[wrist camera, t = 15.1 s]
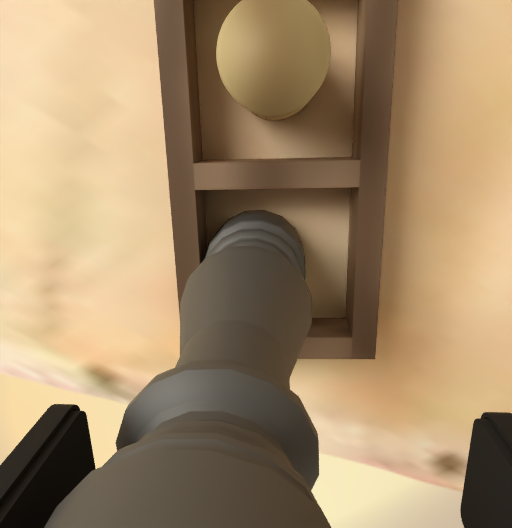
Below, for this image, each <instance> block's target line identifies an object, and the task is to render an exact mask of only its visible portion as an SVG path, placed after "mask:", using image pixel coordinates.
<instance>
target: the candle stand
mask: <svg viewBox="0 0 512 528" xmlns="http://www.w3.org/2000/svg"><path fill="white" fill-rule="evenodd" d="M154 8H155V20H156V32H157V44H158V57H159V69H160V81H161V93H162V105H163V118H164V130H165V142H166V154H167V166H168V178H169V191H170V203H171V215H172V227H173V239H174V252H175V264H176V276H177V288H178V300H179V313H180V302H181V298H182V295H183V292H184V289H185V286H186V283H187V280H188V278H189V276H190V275H191V274H192V273H193V272H194V271H195V269H196V268H197V267H198V266H199V265H200V264H201V263H202V262H203V261H204V259H205V257H206V254H207V251H208V245H207V228H206V210H205V193H204V190H224V189H283V188H342V187H351V194H350V219H349V244H348V269H347V293H346V318H312V324H311V326H310V329H309V331H308V334H307V336H306V338H305V341H304V343H303V346H302V348H301V351H300V353H299V356H298V358H297V359H375V352H376V337H377V321H378V306H379V290H380V274H381V259H382V243H383V227H384V212H385V196H386V180H387V165H388V149H389V133H390V118H391V102H392V87H393V71H394V55H395V40H396V24H397V8H398V0H358V20H357V45H356V69H355V94H354V119H353V144H352V157H335V158H287V159H240V160H203V159H202V142H201V125H200V108H199V91H198V74H197V57H196V40H195V22H194V5H193V0H154ZM330 55H331V46H330V38H329V34H328V30H327V27H326V25H325V22H324V20H323V18H322V17H321V15H320V13H319V12H318V11H317V10H316V8H315V7H314V6H313V5H312V4H311V3H310V2H309V1H307V0H242V1H240V2H239V3H238V4H237V5H236V6H235V7H234V8H233V9H232V10H231V11H230V13H229V14H228V16H227V17H226V19H225V21H224V23H223V24H222V27H221V30H220V32H219V36H218V40H217V47H216V59H217V66H218V71H219V74H220V77H221V80H222V82H223V84H224V86H225V87H226V89H227V90H228V92H229V93H230V94H231V96H232V97H233V98H234V99H235V100H236V101H237V102H238V103H240V104H241V105H242V106H244V107H245V108H247V109H248V110H250V111H251V112H252V113H254V114H255V115H257V116H259V117H261V118H264V119H268V120H282V119H286V118H289V117H291V116H293V115H295V114H297V113H298V112H299V111H301V110H302V109H303V108H304V107H305V105H306V104H307V103H308V102H309V101H310V100H311V98H312V97H313V96H314V95H315V94H316V92H317V91H318V90H319V88H320V87H321V85H322V83H323V81H324V79H325V77H326V74H327V71H328V68H329V63H330Z"/></svg>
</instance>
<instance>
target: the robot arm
mask: <svg viewBox="0 0 512 528" xmlns="http://www.w3.org/2000/svg"><path fill="white" fill-rule="evenodd" d="M92 470H95V463H94V458H93V451H92V445H91V439H90V434H89V428H88V422H87V416H86V413H85V412H84V411H80V408H79V407H78V406H77V405H68V404H67V405H66V404H54V405H52V406H50V407H49V408H48V409H47V411H46V412H45V413H44V414H43V415H42V417H41V418H40V419H39V420H38V421H37V422H36V424H35V425H34V426H33V427H32V428H31V430H30V431H29V432H28V433H27V434H26V436H25V437H24V438H23V439H22V440H21V442H20V443H19V444H18V445H17V446H16V447H15V449H14V450H13V451H12V452H11V454H10V455H9V456H8V457H7V458H6V459H5V461H4V462H3V463H2V464H1V465H0V528H44V527H45V525H46V523H47V522H48V520H49V518H50V517H51V515H52V513H53V512H54V510H55V508H56V507H57V506H58V505H59V504H60V503H61V502H62V501H63V500H64V498H65V497H66V496H67V495H68V494H69V493H70V492H71V491H72V490H73V489H74V488H75V487H76V486H77V485H78V484H79V483H80V482H81V481H82V480H83V479H84V478H85V477H86V476H87V475H88V474H89V473H90V472H91V471H92ZM461 518H462V522H463V525H464V528H512V414H511V413H498V412H485V413H483V414H482V416H481V419H475V421H474V424H473V430H472V437H471V443H470V450H469V456H468V463H467V469H466V476H465V482H464V489H463V496H462V502H461Z"/></svg>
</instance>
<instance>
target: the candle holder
mask: <svg viewBox="0 0 512 528" xmlns="http://www.w3.org/2000/svg"><path fill="white" fill-rule="evenodd" d="M304 280H305V256H304V251H303V245H302V243H301V241H300V239H299V236H298V234H297V232H296V230H295V228H294V227H293V226H292V225H290V224H289V223H288V222H287V221H286V220H285V219H284V218H283V217H282V216H279V215H276V214H273V213H271V212H268V211H265V210H256V211H244V212H242V213H240V214H238V215H236V216H234V217H232V218H230V219H228V221H227V222H226V223H225V224H224V225H223V226H222V227H221V228H220V230H219V231H218V232H217V233H216V235H215V236H214V238H213V240H212V241H211V243H210V244H209V248H208V251H207V254H206V257H205V259H204V261H203V262H202V263H201V264H200V265H199V266H198V267H197V268H196V269H195V271H194V272H193V273H192V274H191V275H190V276H189V278H188V280H187V283H186V286H185V289H184V292H183V295H182V298H181V302H180V358H179V360H178V362H177V365H176V367H175V368H173V369H171V370H168V371H166V372H163V373H161V374H159V375H157V376H155V377H154V378H153V379H152V381H151V382H150V383H149V384H148V385H147V386H146V387H145V388H144V389H143V390H142V391H141V392H140V393H139V394H138V395H137V396H136V397H135V398H134V399H133V400H132V402H131V403H130V404H129V405H128V407H127V409H126V411H125V414H124V417H123V420H122V424H121V427H120V430H119V434H118V437H117V440H116V447H117V452H116V453H115V454H114V455H113V456H112V457H111V458H110V459H109V460H108V461H107V462H106V463H105V464H104V465H103V466H102V467H101V468H98V469H95V470H92V471H91V472H90V473H89V474H88V475H87V476H86V477H85V478H84V479H83V480H82V481H81V482H80V483H79V484H78V485H77V486H76V487H75V488H74V489H73V490H72V491H71V492H70V493H69V494H68V495H67V496H66V497H65V498H64V500H63V501H62V502H61V503H60V504H59V505H58V506H57V507H56V508H55V510H54V512H53V513H52V515H51V517H50V518H49V520H48V522H47V523H46V525H45V527H44V528H331V526H330V524H329V523H328V521H327V519H326V517H325V515H324V513H323V512H322V510H321V508H320V507H319V505H318V504H317V501H316V500H315V498H314V496H313V494H312V492H311V489H312V488H313V486H314V484H315V481H316V480H317V478H318V476H319V447H318V434H317V431H316V429H315V427H314V425H313V423H312V421H311V419H310V417H309V415H308V413H307V412H306V410H305V408H304V406H303V404H302V402H301V400H300V398H299V397H298V396H297V395H296V394H295V393H294V392H292V391H291V390H290V384H289V378H290V376H291V373H292V371H293V368H294V366H295V363H296V361H297V358H298V356H299V353H300V351H301V348H302V346H303V343H304V341H305V338H306V336H307V334H308V331H309V329H310V326H311V324H312V298H311V293H310V291H309V289H308V287H307V285H306V283H305V281H304Z"/></svg>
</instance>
